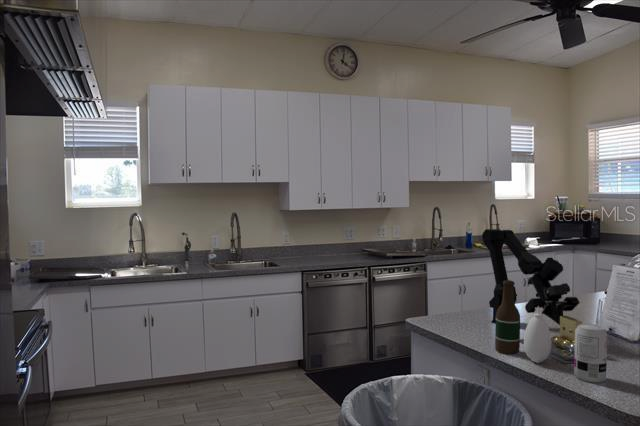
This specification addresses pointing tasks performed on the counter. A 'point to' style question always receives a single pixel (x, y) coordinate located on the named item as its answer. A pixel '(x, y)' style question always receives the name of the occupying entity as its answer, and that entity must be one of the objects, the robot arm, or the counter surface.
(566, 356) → the gunmetal leaf
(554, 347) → the rubber mat
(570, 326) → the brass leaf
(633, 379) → the counter surface
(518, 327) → the beer bottle
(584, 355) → the supplement can
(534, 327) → the sauce bottle
